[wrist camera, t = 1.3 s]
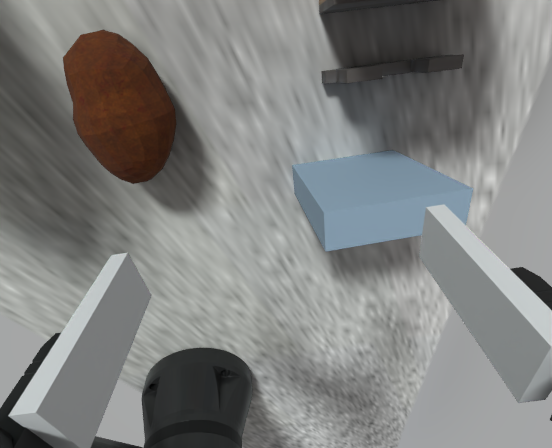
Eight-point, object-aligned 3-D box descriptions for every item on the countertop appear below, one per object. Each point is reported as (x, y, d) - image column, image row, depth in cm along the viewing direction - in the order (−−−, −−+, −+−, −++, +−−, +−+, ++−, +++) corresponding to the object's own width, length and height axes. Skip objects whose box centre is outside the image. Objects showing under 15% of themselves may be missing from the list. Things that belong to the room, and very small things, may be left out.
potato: (154, 22, 25) (124, 3, 18) (199, 158, 30) (190, 185, 23) (62, 44, 24) (-6, 32, 17) (124, 177, 30) (91, 209, 23)
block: (390, 186, 34) (462, 238, 24) (295, 201, 33) (325, 262, 23) (393, 149, 32) (473, 188, 22) (292, 165, 31) (323, 212, 21)
